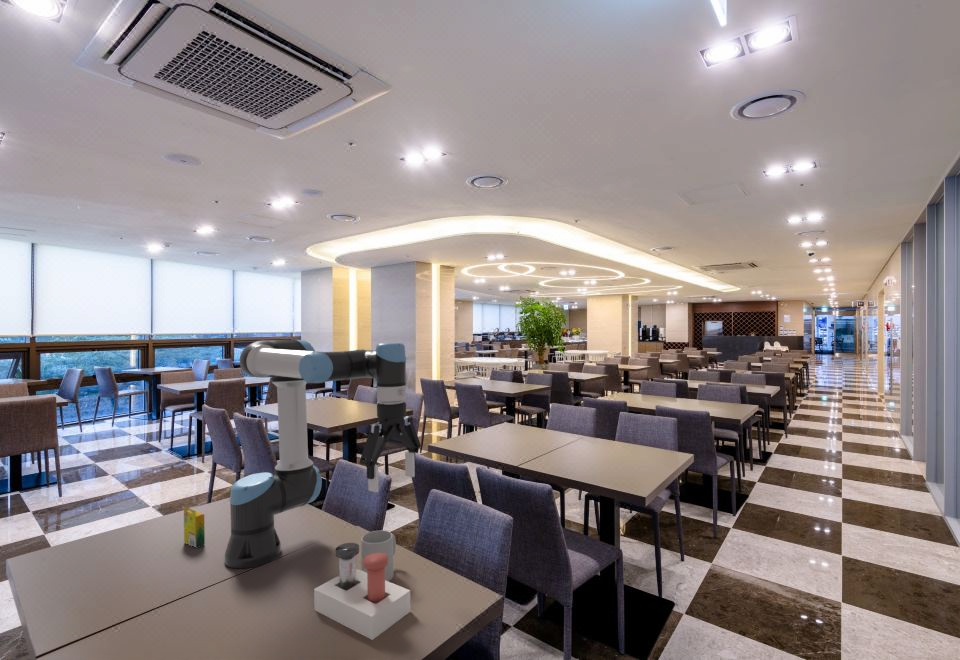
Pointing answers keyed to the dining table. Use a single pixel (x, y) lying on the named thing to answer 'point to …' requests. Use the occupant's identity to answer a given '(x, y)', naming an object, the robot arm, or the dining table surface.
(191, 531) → the crayon box
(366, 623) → the white socket block
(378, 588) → the red plunger
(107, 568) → the dining table surface
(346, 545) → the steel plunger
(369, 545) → the mug
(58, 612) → the dining table surface
